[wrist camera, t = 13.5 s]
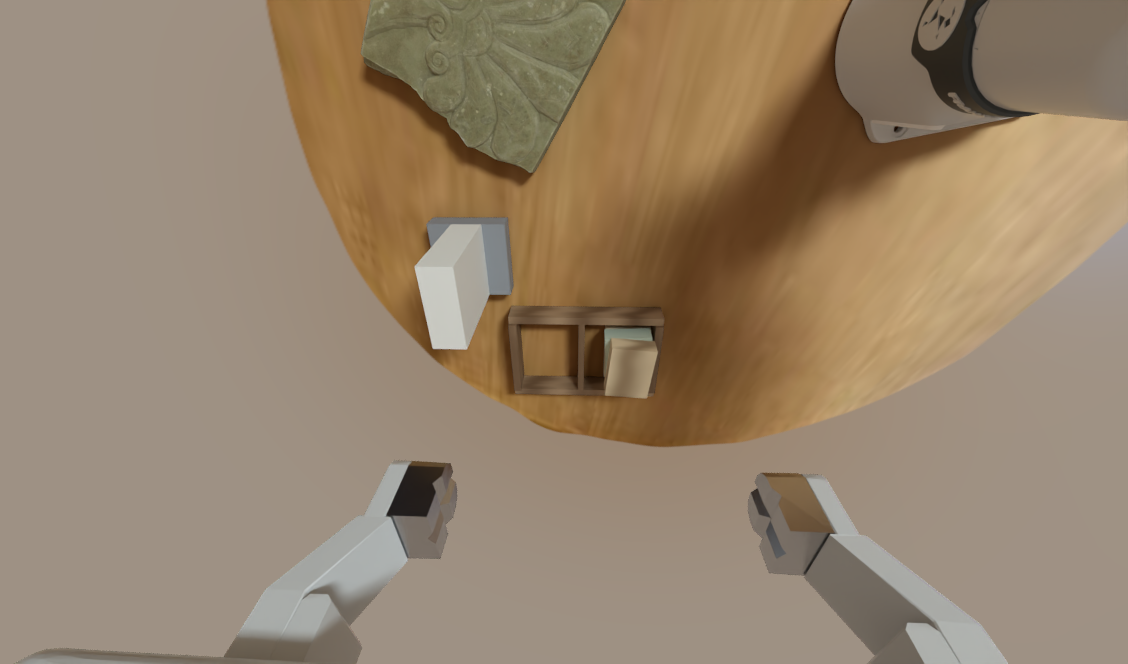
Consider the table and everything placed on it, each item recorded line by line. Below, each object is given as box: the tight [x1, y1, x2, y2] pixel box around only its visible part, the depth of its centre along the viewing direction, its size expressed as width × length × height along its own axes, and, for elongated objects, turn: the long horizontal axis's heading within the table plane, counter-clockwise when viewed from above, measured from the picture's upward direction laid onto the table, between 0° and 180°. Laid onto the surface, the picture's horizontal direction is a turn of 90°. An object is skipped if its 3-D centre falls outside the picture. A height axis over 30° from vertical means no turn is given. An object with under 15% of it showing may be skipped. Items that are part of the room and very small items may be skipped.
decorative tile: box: [361, 0, 626, 173], centre depth 38 cm, size 19×20×4 cm
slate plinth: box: [427, 218, 513, 295], centre depth 50 cm, size 9×9×2 cm
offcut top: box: [604, 338, 658, 399], centre depth 53 cm, size 6×8×2 cm
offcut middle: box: [604, 328, 652, 374], centre depth 55 cm, size 6×8×2 cm
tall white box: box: [415, 224, 490, 349], centre depth 44 cm, size 4×9×12 cm, turn 0°
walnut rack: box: [508, 306, 664, 396], centre depth 57 cm, size 20×13×4 cm, turn 91°
